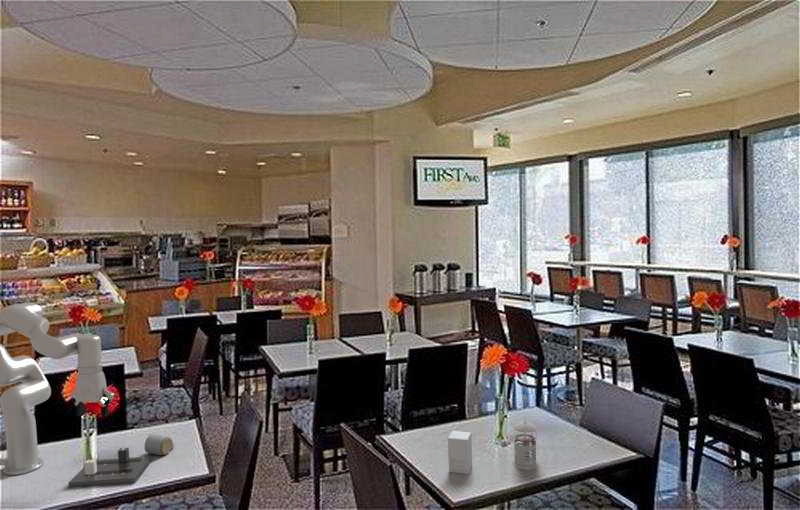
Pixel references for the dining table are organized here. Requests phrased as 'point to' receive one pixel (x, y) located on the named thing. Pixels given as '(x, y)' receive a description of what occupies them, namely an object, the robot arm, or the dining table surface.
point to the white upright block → (90, 467)
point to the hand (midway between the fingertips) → (92, 415)
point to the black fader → (123, 454)
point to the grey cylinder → (158, 444)
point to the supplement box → (460, 452)
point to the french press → (525, 446)
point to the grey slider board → (112, 472)
